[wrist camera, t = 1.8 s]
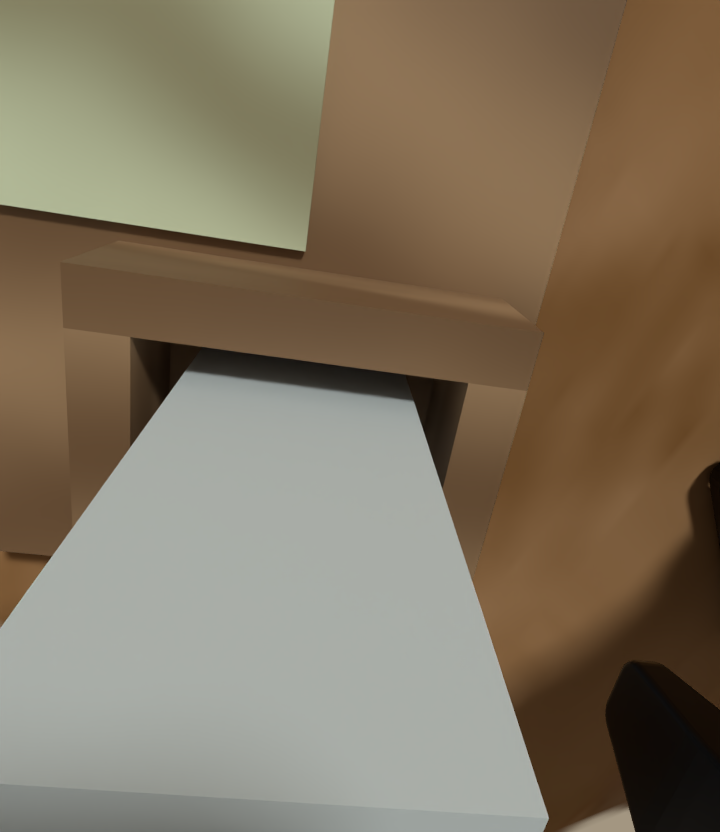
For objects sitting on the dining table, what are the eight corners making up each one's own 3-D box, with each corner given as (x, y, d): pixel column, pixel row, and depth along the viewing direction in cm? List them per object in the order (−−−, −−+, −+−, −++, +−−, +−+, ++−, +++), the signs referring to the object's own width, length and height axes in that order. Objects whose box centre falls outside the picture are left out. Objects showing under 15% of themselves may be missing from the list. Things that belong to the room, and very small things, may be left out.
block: (371, 529, 14) (426, 1097, 5) (197, 509, 13) (-31, 1089, 5) (402, 368, 12) (549, 817, 4) (206, 340, 12) (-106, 777, 3)
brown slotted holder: (451, 570, 15) (482, 678, 12) (17, 525, 14) (-74, 630, 11) (629, -89, 10) (769, -208, 7) (-51, -240, 9) (-270, -467, 6)
